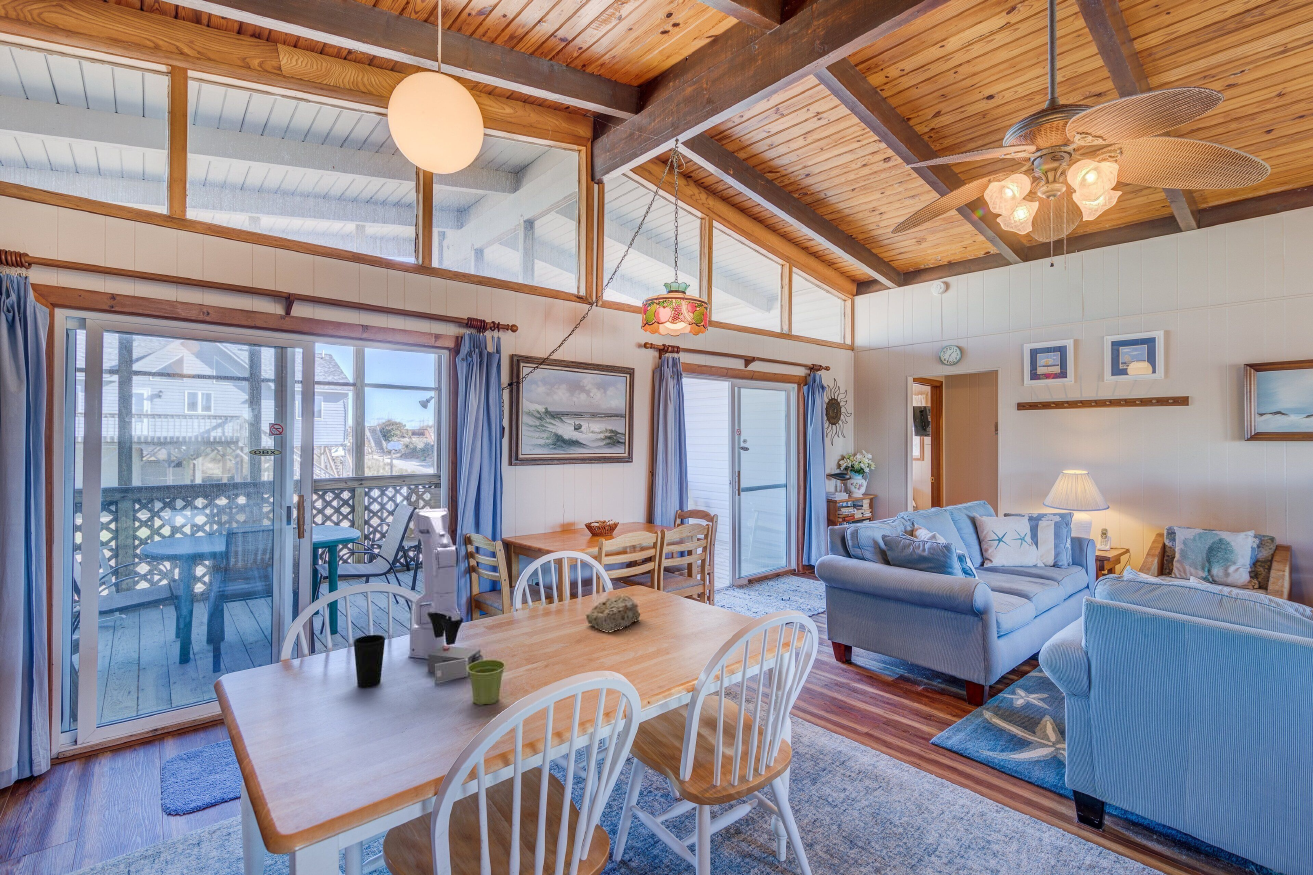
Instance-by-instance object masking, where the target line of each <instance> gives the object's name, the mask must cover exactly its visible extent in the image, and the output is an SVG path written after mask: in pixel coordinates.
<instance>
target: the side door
mask: <svg viewBox="0 0 1313 875" xmlns="http://www.w3.org/2000/svg"><path fill="white" fill-rule="evenodd" d="M467 667H468V659H462V660H456V661H450V662H445V663H439V664H435V673H434V683H437V684H438V683H441V682H446V681H452V680H457V679H461V678H462V679H463V678H467V677H469V675H468V671H467Z"/></svg>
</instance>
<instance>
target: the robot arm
mask: <svg viewBox="0 0 1313 875" xmlns="http://www.w3.org/2000/svg"><path fill="white" fill-rule="evenodd" d="M412 518H413V519H412V521H413V534H414V538H417V539H419V540H420V543H421V554H422V558H421V559H422V560H421V561H422V579H423V580H422V581H423V582H422V583H423V585H422V588H423V593H422V594H420V595H419V596H418V597H417V598H416V599H415V601H414V604H413V606H414V607H413V622H414V625H413V626H412V627H411V630H410V633H409V654H408V655H407V656H408V658H409V657H410V658H419V659H426V660H428V654H430V653H432V652H433V651H435V650H437V649H438V648H440V647H442V646H445V644H446V646H451V645H455V644H456V641H457V637H458V632H459V630H460V627H461V625H462V624H463V622H464V618H463V617H462V616H461V612H460V611H459V610H458V605H457V568H458V567H459V564H460V552H459V547H458V546H457V545H454V544H453V540H452V538H451V535H450V534H449V533H448V532H447V529H448V527H449V524H450V514H449V510H448V509H447V507H445V508H428V509H427V508H426V509H417V508H416V509H415V510H414V511H413V517H412Z"/></svg>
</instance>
